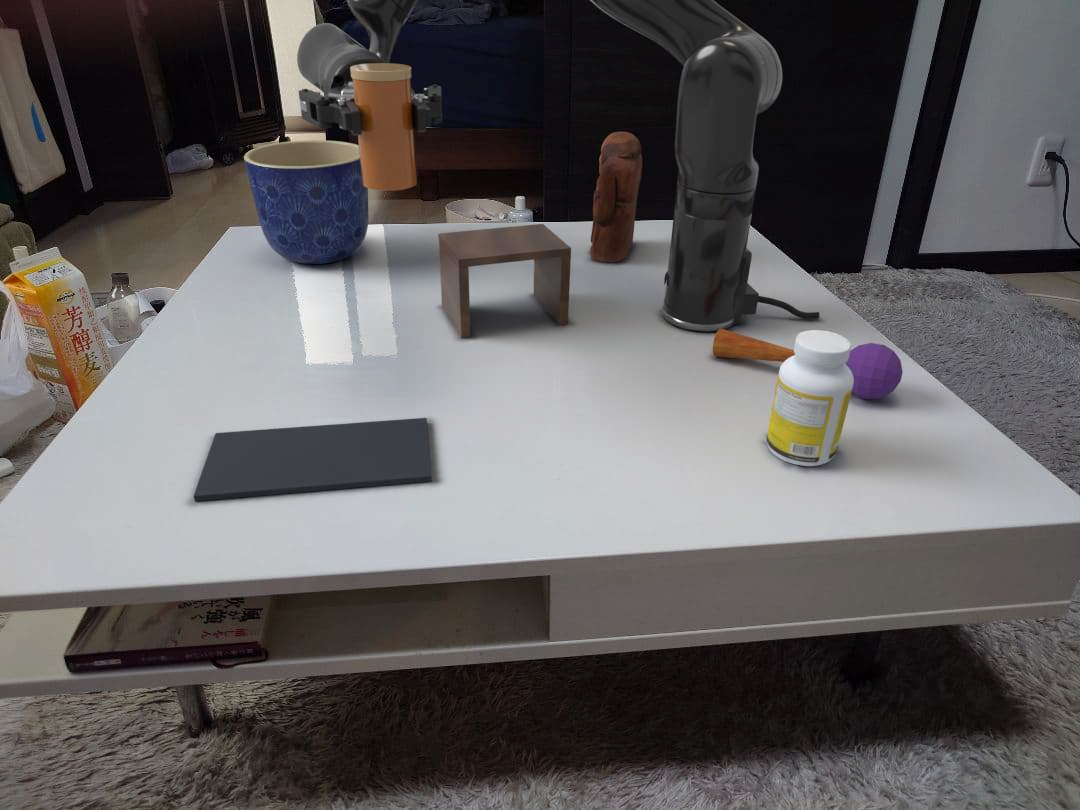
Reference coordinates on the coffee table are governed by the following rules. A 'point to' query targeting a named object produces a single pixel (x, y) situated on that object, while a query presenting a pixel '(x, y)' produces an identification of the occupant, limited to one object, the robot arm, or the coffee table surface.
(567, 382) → the coffee table surface
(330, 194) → the planter
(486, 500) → the coffee table surface
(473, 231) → the shelf
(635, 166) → the wooden figurine
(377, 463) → the mat
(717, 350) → the purple and wooden maraca
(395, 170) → the jar
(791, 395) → the pill bottle
